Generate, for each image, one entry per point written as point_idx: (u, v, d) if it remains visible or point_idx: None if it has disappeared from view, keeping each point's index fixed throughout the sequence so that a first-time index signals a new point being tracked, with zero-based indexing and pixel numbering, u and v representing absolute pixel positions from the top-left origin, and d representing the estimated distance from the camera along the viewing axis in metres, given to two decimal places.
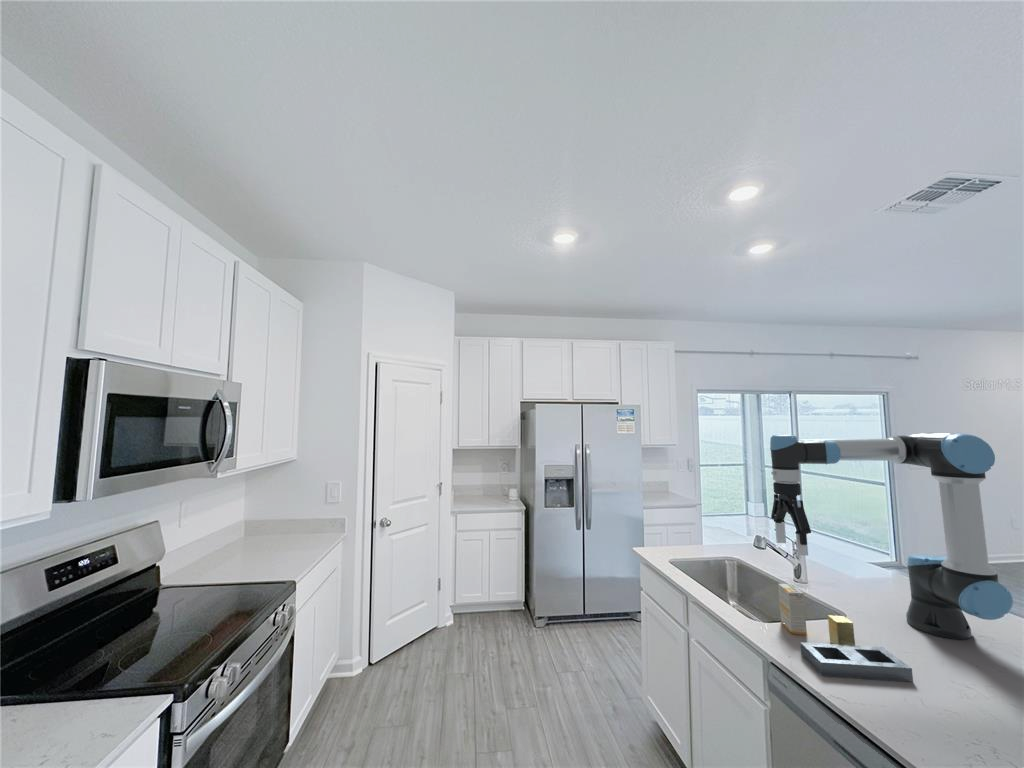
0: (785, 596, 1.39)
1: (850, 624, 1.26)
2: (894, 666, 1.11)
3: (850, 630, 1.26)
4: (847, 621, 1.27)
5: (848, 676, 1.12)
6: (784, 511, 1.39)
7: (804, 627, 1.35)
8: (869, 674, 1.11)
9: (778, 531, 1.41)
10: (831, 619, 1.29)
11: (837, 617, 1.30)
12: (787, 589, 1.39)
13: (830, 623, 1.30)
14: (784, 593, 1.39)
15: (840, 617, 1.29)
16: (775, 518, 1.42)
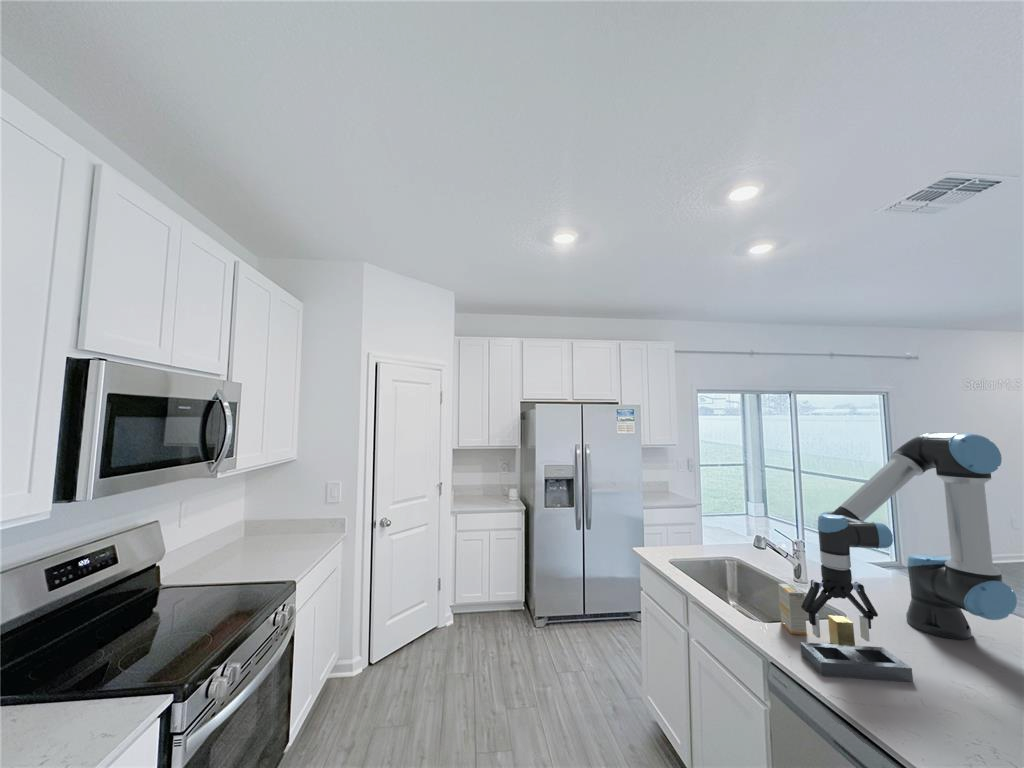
0: (785, 596, 1.39)
1: (850, 624, 1.26)
2: (894, 666, 1.11)
3: (850, 630, 1.26)
4: (847, 621, 1.27)
5: (848, 676, 1.12)
6: (852, 601, 1.28)
7: (804, 627, 1.35)
8: (869, 674, 1.11)
9: (861, 625, 1.28)
10: (831, 619, 1.29)
11: (837, 617, 1.30)
12: (787, 589, 1.39)
13: (830, 623, 1.30)
14: (784, 593, 1.39)
15: (840, 617, 1.29)
16: None
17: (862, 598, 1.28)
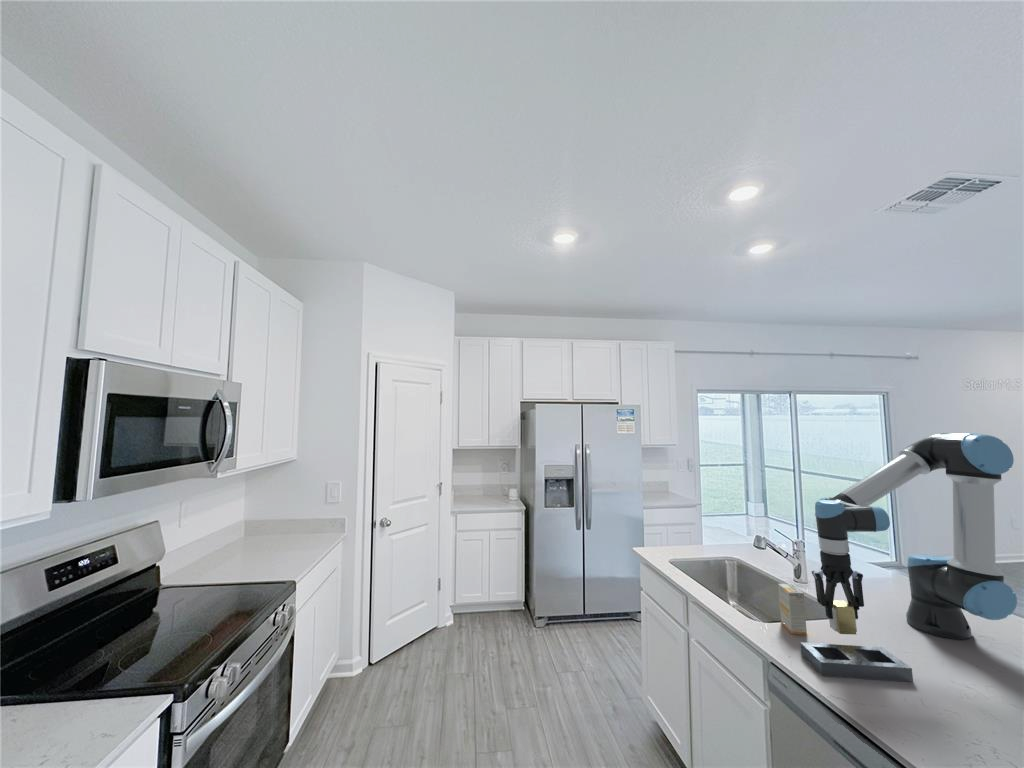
0: (785, 596, 1.39)
1: (850, 608, 1.26)
2: (894, 666, 1.11)
3: (850, 614, 1.26)
4: (847, 606, 1.27)
5: (848, 676, 1.12)
6: (845, 588, 1.29)
7: (804, 627, 1.35)
8: (869, 674, 1.11)
9: None
10: None
11: (837, 601, 1.30)
12: (787, 589, 1.39)
13: None
14: (784, 593, 1.39)
15: (840, 602, 1.30)
16: None
17: (855, 586, 1.28)
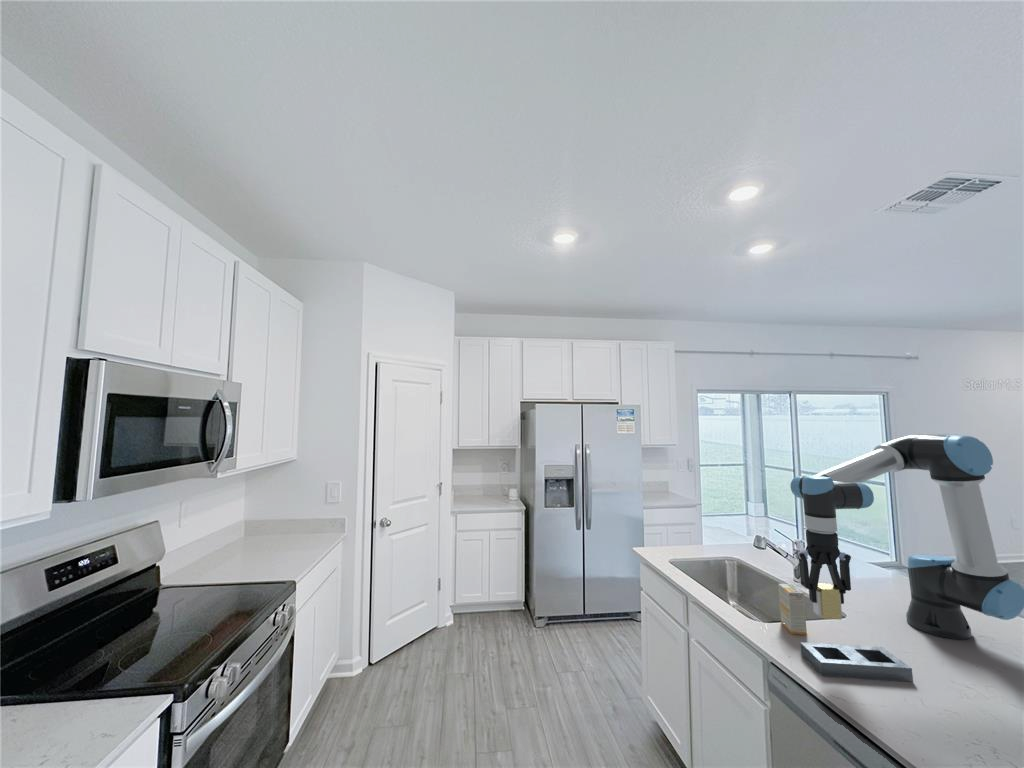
0: (785, 596, 1.39)
1: (836, 591, 1.17)
2: (894, 666, 1.11)
3: (836, 597, 1.17)
4: (833, 588, 1.17)
5: (848, 676, 1.12)
6: (831, 570, 1.19)
7: (804, 627, 1.35)
8: (869, 674, 1.11)
9: None
10: None
11: (822, 584, 1.21)
12: (787, 589, 1.39)
13: None
14: (784, 593, 1.39)
15: (825, 584, 1.20)
16: None
17: (842, 569, 1.19)
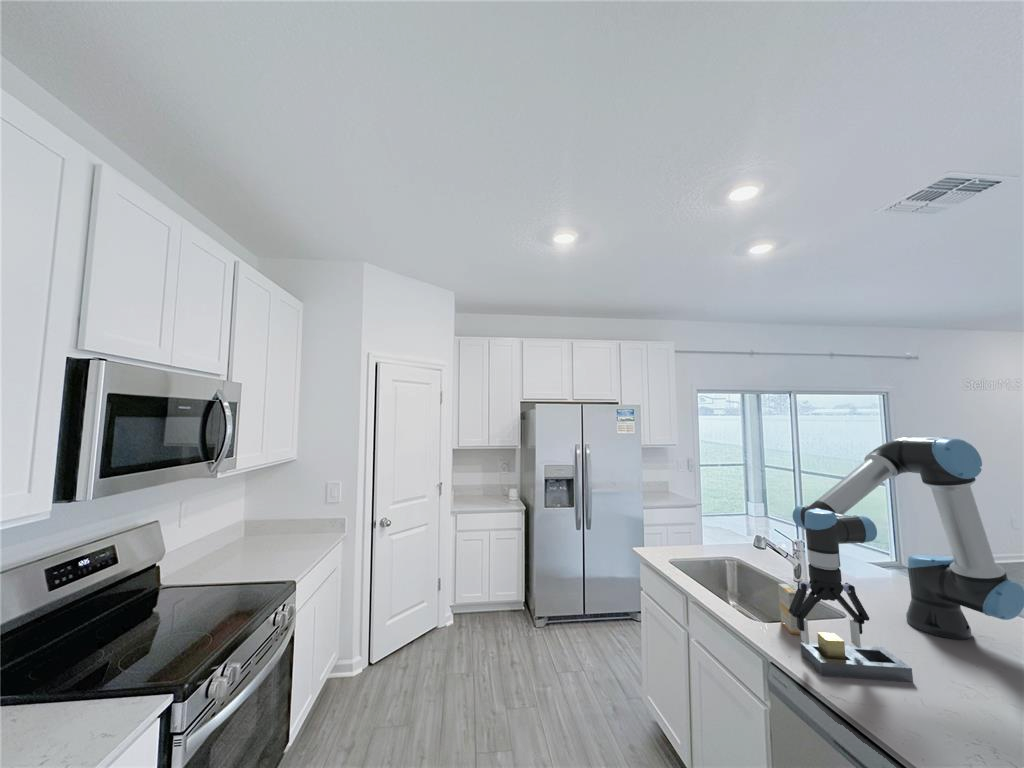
0: (785, 596, 1.39)
1: (841, 643, 1.16)
2: (894, 666, 1.11)
3: (841, 649, 1.15)
4: (838, 640, 1.16)
5: (848, 676, 1.12)
6: (841, 604, 1.18)
7: None
8: (869, 674, 1.11)
9: (851, 629, 1.18)
10: (821, 637, 1.19)
11: (827, 634, 1.19)
12: (787, 589, 1.39)
13: (819, 641, 1.19)
14: (784, 593, 1.39)
15: (830, 634, 1.19)
16: None
17: (853, 600, 1.18)
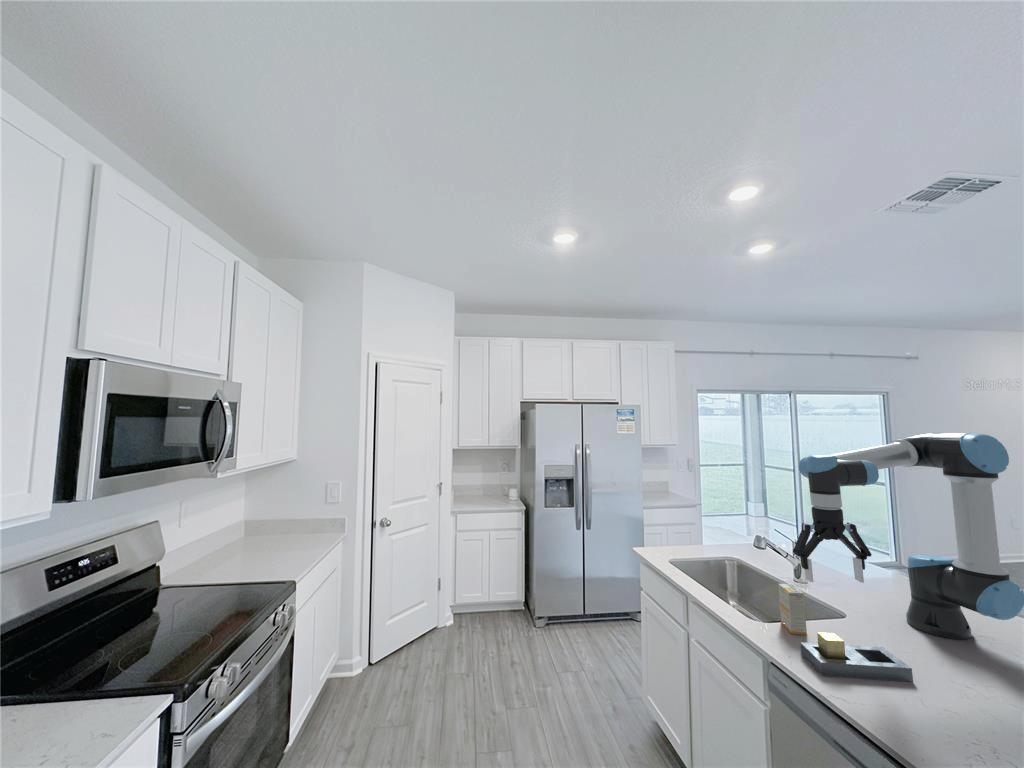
0: (785, 596, 1.39)
1: (841, 642, 1.16)
2: (894, 666, 1.11)
3: (841, 649, 1.15)
4: (838, 640, 1.16)
5: (848, 676, 1.12)
6: (844, 542, 1.23)
7: (804, 627, 1.35)
8: (869, 674, 1.11)
9: (855, 566, 1.23)
10: (820, 637, 1.19)
11: (827, 634, 1.19)
12: (787, 589, 1.39)
13: (819, 641, 1.19)
14: (784, 593, 1.39)
15: (830, 634, 1.19)
16: None
17: (855, 538, 1.23)
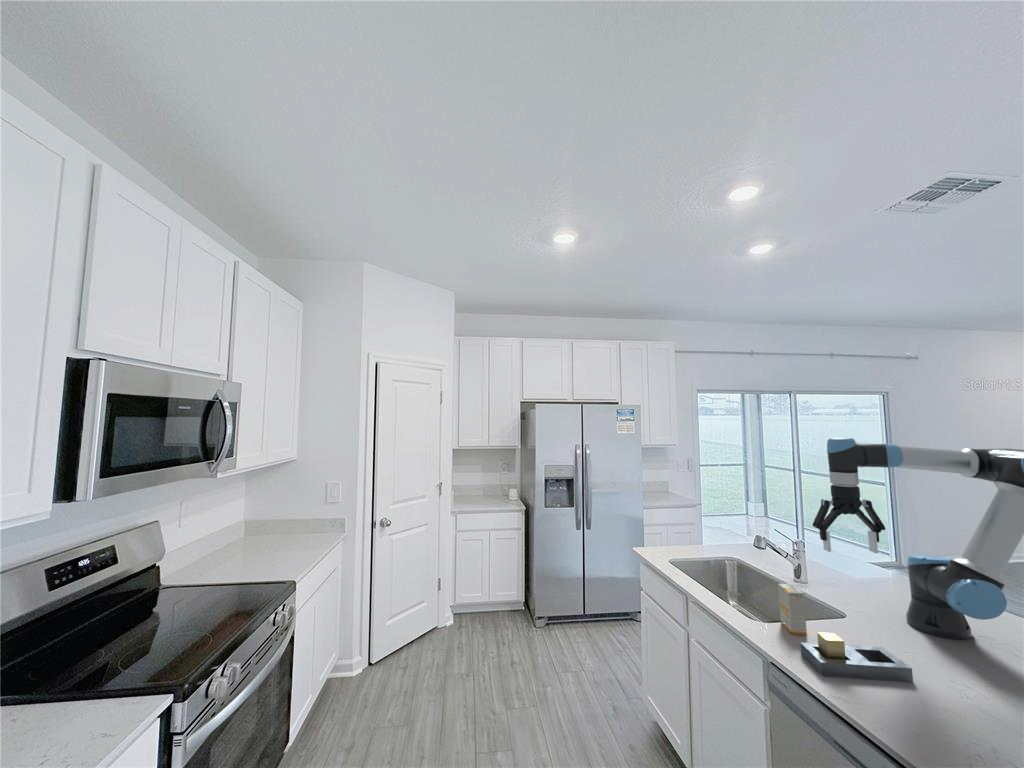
0: (785, 596, 1.39)
1: (841, 642, 1.16)
2: (894, 666, 1.11)
3: (841, 649, 1.15)
4: (838, 640, 1.16)
5: (848, 676, 1.12)
6: (860, 517, 1.35)
7: (804, 627, 1.35)
8: (869, 674, 1.11)
9: (869, 539, 1.35)
10: (820, 637, 1.19)
11: (827, 634, 1.19)
12: (787, 589, 1.39)
13: (819, 641, 1.19)
14: (784, 593, 1.39)
15: (830, 634, 1.19)
16: None
17: (870, 514, 1.35)
